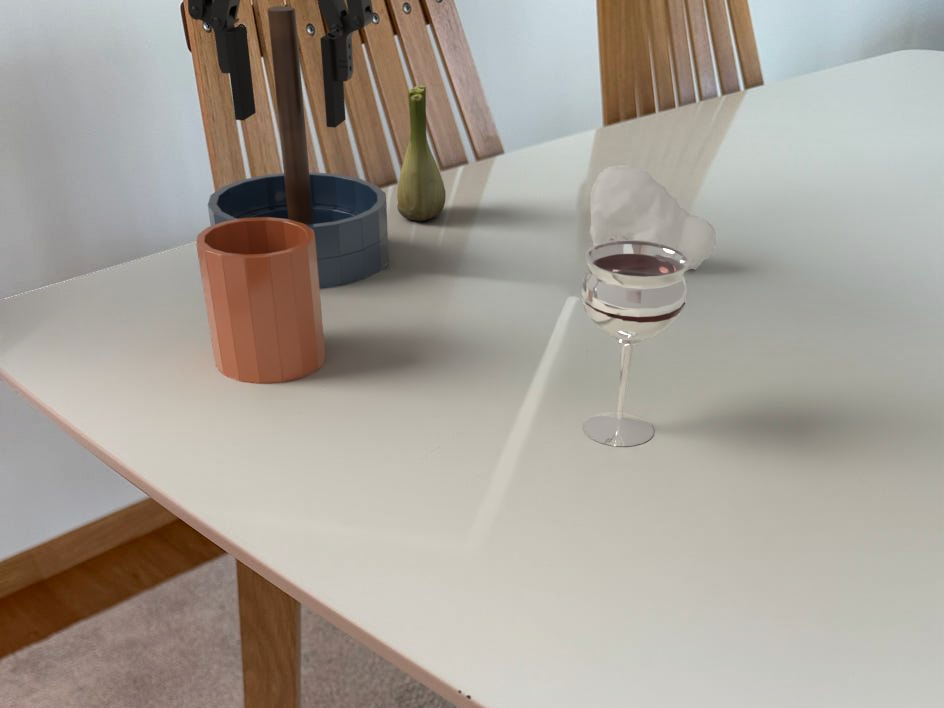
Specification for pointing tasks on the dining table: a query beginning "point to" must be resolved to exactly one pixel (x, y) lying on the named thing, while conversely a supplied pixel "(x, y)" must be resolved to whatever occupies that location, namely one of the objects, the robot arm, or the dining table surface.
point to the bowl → (320, 220)
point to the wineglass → (631, 315)
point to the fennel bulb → (419, 167)
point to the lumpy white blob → (646, 214)
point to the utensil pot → (262, 298)
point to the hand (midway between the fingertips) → (290, 119)
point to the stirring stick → (291, 112)
